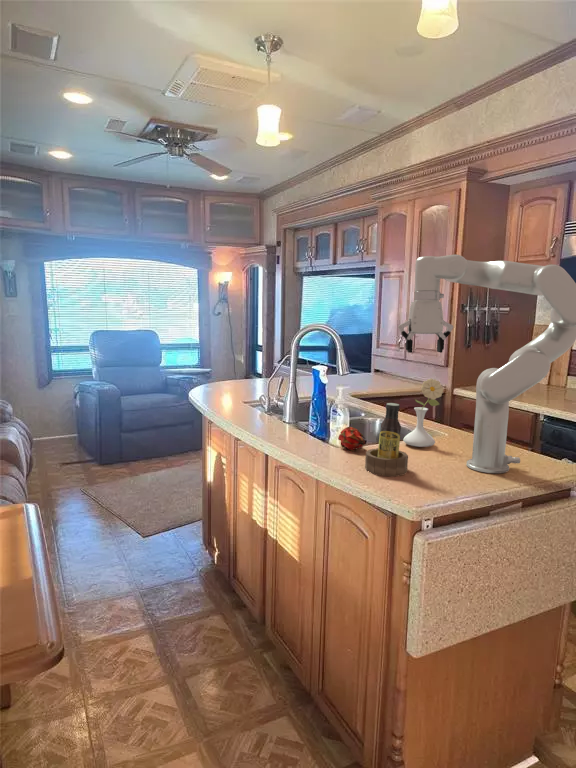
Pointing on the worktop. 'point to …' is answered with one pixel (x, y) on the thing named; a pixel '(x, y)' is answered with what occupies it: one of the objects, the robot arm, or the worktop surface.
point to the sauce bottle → (390, 433)
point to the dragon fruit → (351, 438)
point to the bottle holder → (386, 464)
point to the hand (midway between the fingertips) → (424, 352)
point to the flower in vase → (419, 434)
